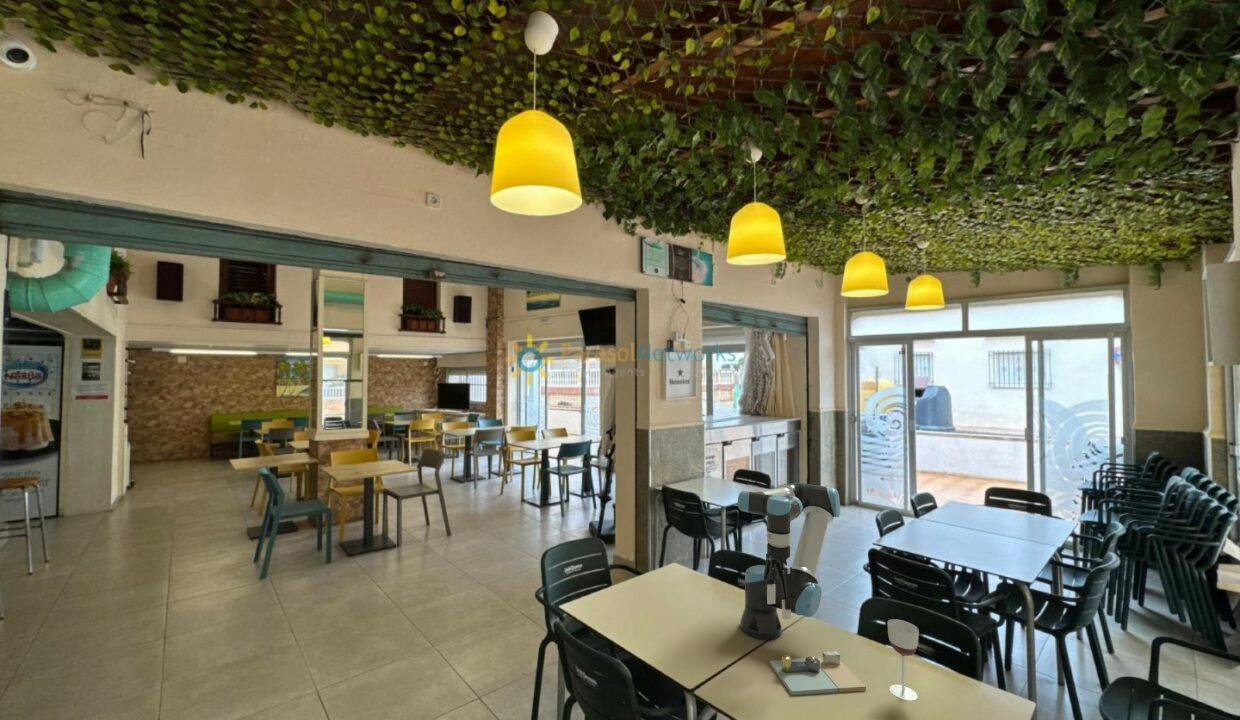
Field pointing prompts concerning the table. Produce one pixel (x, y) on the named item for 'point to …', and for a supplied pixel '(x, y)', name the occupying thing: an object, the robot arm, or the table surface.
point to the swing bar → (800, 665)
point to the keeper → (831, 658)
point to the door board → (818, 679)
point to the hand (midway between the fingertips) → (778, 610)
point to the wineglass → (903, 652)
